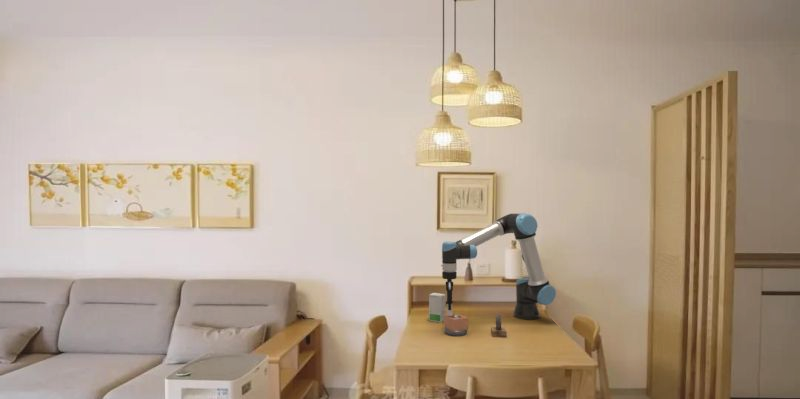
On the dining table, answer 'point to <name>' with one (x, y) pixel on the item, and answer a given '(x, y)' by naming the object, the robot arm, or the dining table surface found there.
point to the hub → (455, 333)
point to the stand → (498, 328)
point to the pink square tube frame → (456, 323)
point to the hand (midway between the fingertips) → (449, 315)
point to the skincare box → (437, 307)
